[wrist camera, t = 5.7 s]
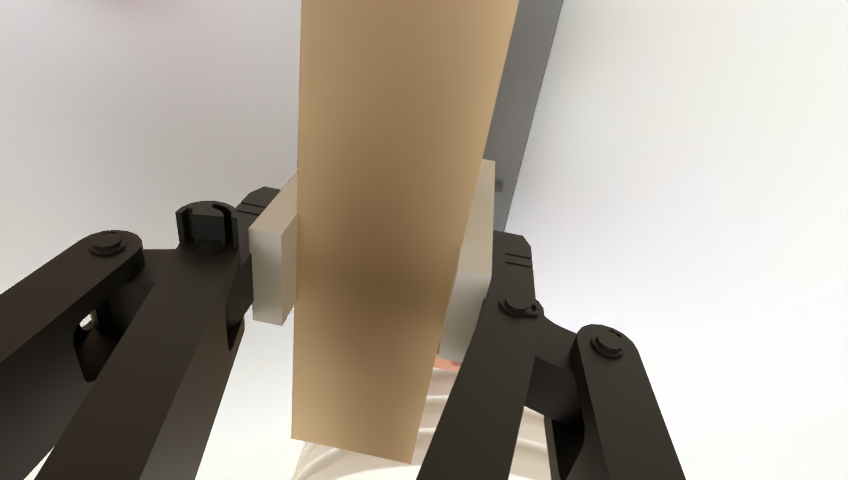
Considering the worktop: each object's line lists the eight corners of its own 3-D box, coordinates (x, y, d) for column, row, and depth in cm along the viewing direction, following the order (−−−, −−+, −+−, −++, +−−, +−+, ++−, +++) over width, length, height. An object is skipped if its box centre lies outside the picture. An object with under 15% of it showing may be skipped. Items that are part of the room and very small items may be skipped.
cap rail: (347, 287, 37) (322, 346, 32) (371, -104, 24) (336, -114, 19) (480, 312, 37) (478, 375, 31) (577, -72, 24) (601, -72, 18)
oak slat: (340, 319, 21) (291, 438, 16) (374, -54, 14) (302, -49, 9) (432, 338, 21) (410, 464, 16) (513, -27, 14) (521, -9, 9)
